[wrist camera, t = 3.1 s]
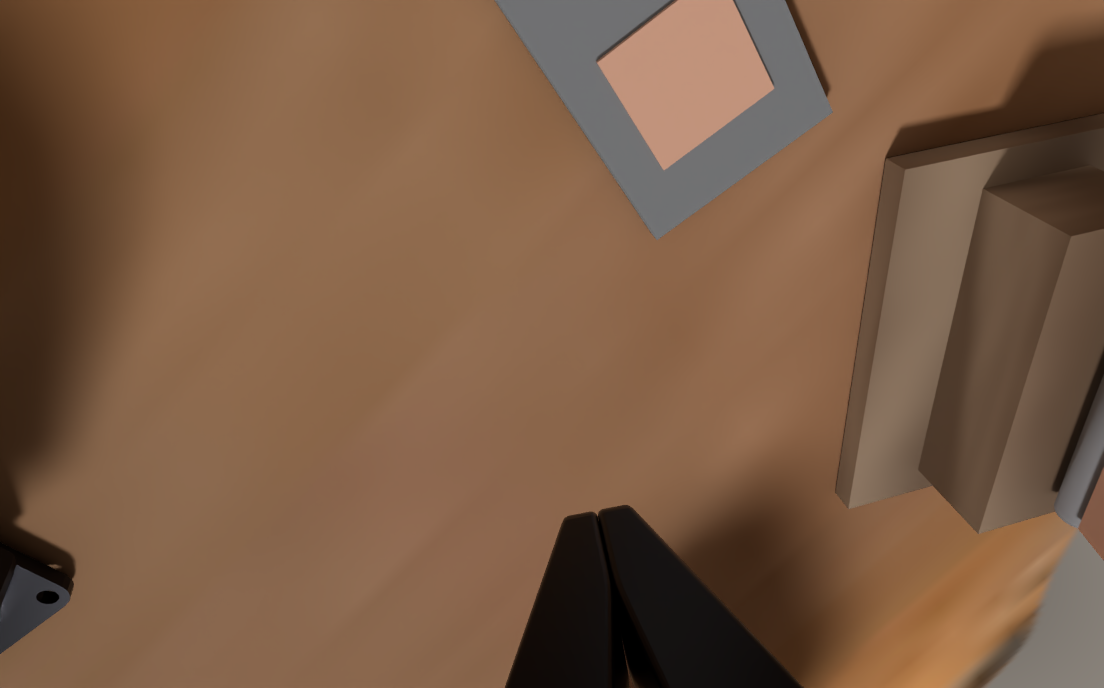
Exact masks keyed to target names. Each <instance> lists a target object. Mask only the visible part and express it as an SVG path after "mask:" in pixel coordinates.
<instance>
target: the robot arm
mask: <svg viewBox="0 0 1104 688" xmlns="http://www.w3.org/2000/svg"><path fill="white" fill-rule="evenodd" d="M598 520H599V521H598ZM73 587H74V583H73V581H72V579H71V578H70V577H68V576H67V575H65V574H63V573H61V572H59V571H57V570H55V569H53V568H51V567H49V566H47V565H45V564H43V563H41V562H39V561H37V560H35V559H33V558H31V557H29V556H27V555H25V554H23V553H21V552H19V551H17V550H15V549H13V548H11V547H9V546H7V545H5V544H3V543H1V542H0V654H1V653H2V652H3V651H5V650H6V649H8V648H9V647H10V646H12V645H13V644H14V643H16V642H17V641H18V640H20V639H21V638H22V637H24V636H25V635H26V634H28V633H29V632H30V631H32V630H33V629H34V628H36V627H37V626H39V625H40V624H41V623H43V622H44V621H45V620H47V619H48V618H49V617H51V616H52V615H53V614H55V613H56V612H57V611H59V610H60V609H61V608H63V607H64V606H65V605H66V604H67V603H68V602H69V600H70V597H71V594H72V591H73ZM48 590H50V591H54V592H49V591H48ZM622 641H623V642H622ZM623 646H624V647H623ZM624 651H625V653H624ZM625 656H626V659H625ZM626 660H627V664H628V668H629V673H630V676H631V680H632V683H633V686H634V688H804V687H803V686H802V685H801V684H800V683H799V682H798V681H797V680H796V679H795V678H794V677H793V676H792V675H791V674H790V673H789V672H788V671H787V670H786V669H785V668H784V666H783V665H782V664H781V663H780V662H779V661H778V660H777V659H776V658H775V657H774V656H773V655H772V654H771V653H770V652H769V651H768V650H767V649H766V648H765V647H764V645H763V644H762V643H761V642H760V641H759V640H758V639H757V638H756V637H755V636H754V635H753V634H752V633H751V632H750V631H749V630H748V629H747V628H746V627H745V626H744V624H743V623H742V622H741V621H740V620H739V619H738V618H737V617H736V616H735V615H734V614H733V613H732V612H731V611H730V610H729V609H728V608H727V607H726V606H725V605H724V603H723V602H722V601H721V600H720V599H719V598H718V597H717V596H716V595H715V594H714V593H713V592H712V591H711V590H710V589H709V588H708V587H707V586H706V585H705V584H704V582H703V581H702V580H701V579H700V578H699V577H698V576H697V575H696V574H695V573H694V572H693V571H692V570H691V569H690V568H689V567H688V566H687V565H686V564H685V563H684V561H683V560H682V559H681V558H680V557H679V556H678V555H677V554H676V553H675V552H674V551H673V550H672V549H671V548H670V547H669V546H668V545H667V544H666V543H665V542H664V540H663V539H662V538H661V537H660V536H659V535H658V534H657V533H656V532H655V531H654V530H653V529H652V528H651V527H650V526H649V525H648V524H647V523H646V522H645V521H644V519H643V518H642V517H641V516H640V515H639V514H638V513H637V512H636V511H635V510H634V509H633V508H632V507H630V506H628V505H622V506H617V507H611V508H606V509H602V510H600V511H599V513H598V517H597V514H596V513H594V512H586V513H581V514H576V515H571V516H567V517H566V518H564V520H563V522H562V524H561V527H560V530H559V533H558V536H557V539H556V542H555V545H554V547H553V550H552V553H551V556H550V559H549V562H548V565H547V568H546V570H545V573H544V576H543V579H542V582H541V585H540V588H539V591H538V593H537V596H536V599H535V602H534V605H533V608H532V611H531V614H530V616H529V619H528V622H527V625H526V628H525V631H524V634H523V637H522V639H521V642H520V645H519V648H518V651H517V654H516V657H515V660H514V662H513V665H512V668H511V671H510V674H509V677H508V680H507V683H506V685H505V688H630V686H629V676H628V670H627V665H626Z"/></svg>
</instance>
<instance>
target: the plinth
mask: <svg viewBox="0 0 1104 688" xmlns="http://www.w3.org/2000/svg"><path fill="white" fill-rule="evenodd" d="M1103 375H1104V113H1102V114H1098V115H1093V116H1088V117H1083V118H1078V119H1074V120H1069V121H1064V122H1059V123H1054V124H1049V125H1045V126H1040V127H1035V128H1030V129H1025V130H1021V131H1016V132H1011V133H1006V134H1001V135H997V136H992V137H987V138H982V139H977V140H973V141H968V142H963V143H958V144H953V145H948V146H944V147H939V148H934V149H929V150H924V151H920V152H915V153H910V154H905V155H900V156H896V157H891V158H886V161H885V167H884V174H883V181H882V187H881V194H880V200H879V207H878V214H877V220H876V227H875V234H874V240H873V247H872V253H871V260H870V267H869V273H868V280H867V287H866V293H865V300H864V306H863V313H862V320H861V326H860V333H859V340H858V346H857V353H856V359H855V366H854V373H853V379H852V386H851V393H850V399H849V406H848V412H847V419H846V426H845V432H844V439H843V446H842V452H841V459H840V465H839V472H838V479H837V485H836V492H835V493H836V494H837V495H838V497H839V498H840V499H841V500H842V502H843V503H844V504H845V505H846V507H847V508H848V509H851V508H854V507H858V506H861V505H865V504H868V503H872V502H876V501H879V500H883V499H886V498H890V497H894V496H897V495H901V494H904V493H908V492H911V491H915V490H919V489H922V488H926V487H929V486H934V487H935V488H936V490H937V491H938V492H939V493H940V494H941V495H942V496H943V497H944V498H945V499H946V500H947V501H948V502H949V503H950V504H951V506H952V507H953V508H954V509H955V510H956V511H957V512H958V513H959V514H960V515H961V516H962V517H963V518H964V519H965V520H966V521H967V523H968V524H969V525H970V526H971V527H972V528H973V529H974V530H975V531H976V532H977V533H978V534H980V533H983V532H987V531H990V530H994V529H997V528H1000V527H1004V526H1007V525H1011V524H1014V523H1017V522H1021V521H1024V520H1028V519H1031V518H1035V517H1038V516H1041V515H1045V514H1048V513H1052V512H1055V509H1054V503H1055V500H1056V498H1057V495H1058V492H1059V490H1060V487H1061V485H1062V482H1063V479H1064V477H1065V474H1066V472H1067V469H1068V466H1069V464H1070V461H1071V458H1072V456H1073V453H1074V451H1075V448H1076V445H1077V443H1078V440H1079V437H1080V435H1081V432H1082V430H1083V427H1084V424H1085V422H1086V419H1087V417H1088V414H1089V411H1090V409H1091V406H1092V403H1093V401H1094V398H1095V396H1096V393H1097V390H1098V388H1099V385H1100V383H1101V380H1102V377H1103Z"/></svg>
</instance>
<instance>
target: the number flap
mask: <svg viewBox="0 0 1104 688" xmlns="http://www.w3.org/2000/svg"><path fill="white" fill-rule="evenodd" d="M1054 509H1055V511H1056V513H1057V515H1058V516H1059V517H1060V518H1061V519H1062V520H1063V521H1065V522H1066V523H1068V524H1069V525H1071V526H1073V527H1076V528H1078V529H1079V530H1080V532H1081V533H1082V534H1083V535H1084V537H1085V538H1086V539H1087V540H1088V542H1089V543H1090V544H1091V545H1092V546H1093V548H1094V549H1095V550H1096V552H1097V553H1098V554H1099V555H1100V556H1101V558H1102V559H1103V560H1104V375H1103V377H1102V380H1101V383H1100V385H1099V388H1098V390H1097V393H1096V396H1095V398H1094V401H1093V403H1092V406H1091V409H1090V411H1089V414H1088V417H1087V419H1086V422H1085V424H1084V427H1083V430H1082V432H1081V435H1080V437H1079V440H1078V443H1077V445H1076V448H1075V451H1074V453H1073V456H1072V458H1071V461H1070V464H1069V466H1068V469H1067V472H1066V474H1065V477H1064V479H1063V482H1062V485H1061V487H1060V490H1059V492H1058V495H1057V498H1056V500H1055V503H1054Z"/></svg>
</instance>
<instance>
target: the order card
mask: <svg viewBox="0 0 1104 688" xmlns="http://www.w3.org/2000/svg"><path fill="white" fill-rule="evenodd" d="M495 2H496V3H497V5H498V6H499V8H500V9H501V10H502V12H503V13H504V15H505V16H506V18H507V19H508V21H509V22H510V24H511V25H512V27H513V28H514V30H515V31H516V33H517V34H518V36H519V37H520V39H521V40H522V42H523V43H524V45H525V46H526V48H527V49H528V51H529V52H530V54H531V55H532V57H533V58H534V60H535V61H536V63H537V64H538V65H539V67H540V68H541V70H542V71H543V73H544V74H545V76H546V77H547V79H548V80H549V82H550V83H551V85H552V86H553V88H554V89H555V91H556V92H557V94H558V95H559V97H560V98H561V100H562V101H563V103H564V104H565V106H566V107H567V109H568V110H569V112H570V113H571V115H572V116H573V118H574V119H575V120H576V122H577V123H578V125H579V126H580V128H581V129H582V131H583V132H584V134H585V135H586V137H587V138H588V140H589V141H590V143H591V144H592V146H593V147H594V149H595V150H596V152H597V153H598V155H599V156H600V158H601V159H602V161H603V162H604V164H605V165H606V167H607V168H608V170H609V171H610V173H611V174H612V175H613V177H614V178H615V180H616V181H617V183H618V184H619V186H620V187H621V189H622V190H623V192H624V193H625V195H626V196H627V198H628V199H629V201H630V202H631V204H632V205H633V207H634V208H635V210H636V211H637V213H638V214H639V216H640V217H641V219H642V220H643V222H644V223H645V225H646V226H647V228H648V229H649V230H650V232H651V233H652V235H653V236H654V237H655V238H656V239H657V240H658V239H659V238H660V237H662V236H663V235H665V234H666V233H667V232H669V231H670V230H671V229H673V228H674V227H676V226H677V225H678V224H680V223H681V222H683V221H684V220H685V219H687V218H688V217H689V216H691V215H692V214H694V213H695V212H696V211H698V210H699V209H700V208H702V207H703V206H705V205H706V204H707V203H709V202H710V201H711V200H713V199H714V198H716V197H717V196H718V195H720V194H721V193H722V192H724V191H725V190H727V189H728V188H729V187H731V186H732V185H733V184H735V183H736V182H738V181H739V180H740V179H742V178H743V177H744V176H746V175H747V174H749V173H750V172H751V171H753V170H754V169H755V168H757V167H758V166H760V165H761V164H762V163H764V162H765V161H766V160H768V159H769V158H771V157H772V156H773V155H775V154H776V153H777V152H779V151H780V150H782V149H783V148H784V147H786V146H787V145H789V144H790V143H791V142H793V141H794V140H795V139H797V138H798V137H800V136H801V135H802V134H804V133H805V132H806V131H808V130H809V129H811V128H812V127H813V126H815V125H816V124H817V123H819V122H820V121H822V120H823V119H824V118H826V117H827V116H828V115H830V114H831V113H833V111H832V109H831V107H830V104H829V102H828V100H827V97H826V95H825V93H824V90H823V88H822V86H821V83H820V81H819V79H818V76H817V74H816V72H815V69H814V67H813V65H812V62H811V60H810V58H809V55H808V53H807V51H806V48H805V46H804V44H803V41H802V39H801V37H800V34H799V32H798V29H797V27H796V25H795V22H794V20H793V18H792V15H791V13H790V11H789V8H788V6H787V4H786V1H785V0H495Z"/></svg>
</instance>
